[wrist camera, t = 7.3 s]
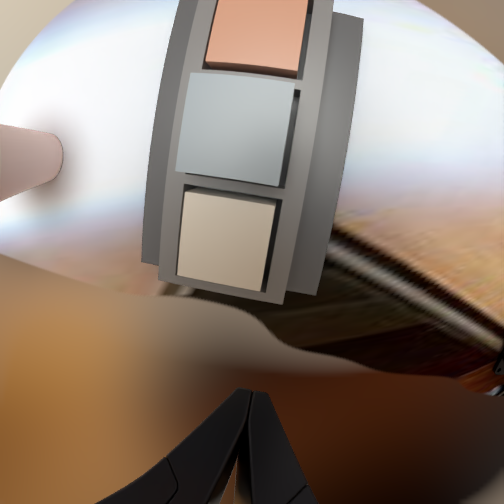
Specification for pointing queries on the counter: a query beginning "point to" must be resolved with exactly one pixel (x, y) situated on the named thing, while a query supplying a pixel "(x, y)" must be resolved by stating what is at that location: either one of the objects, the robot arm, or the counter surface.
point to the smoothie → (27, 159)
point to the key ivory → (225, 237)
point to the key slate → (235, 127)
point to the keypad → (295, 156)
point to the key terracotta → (258, 37)
